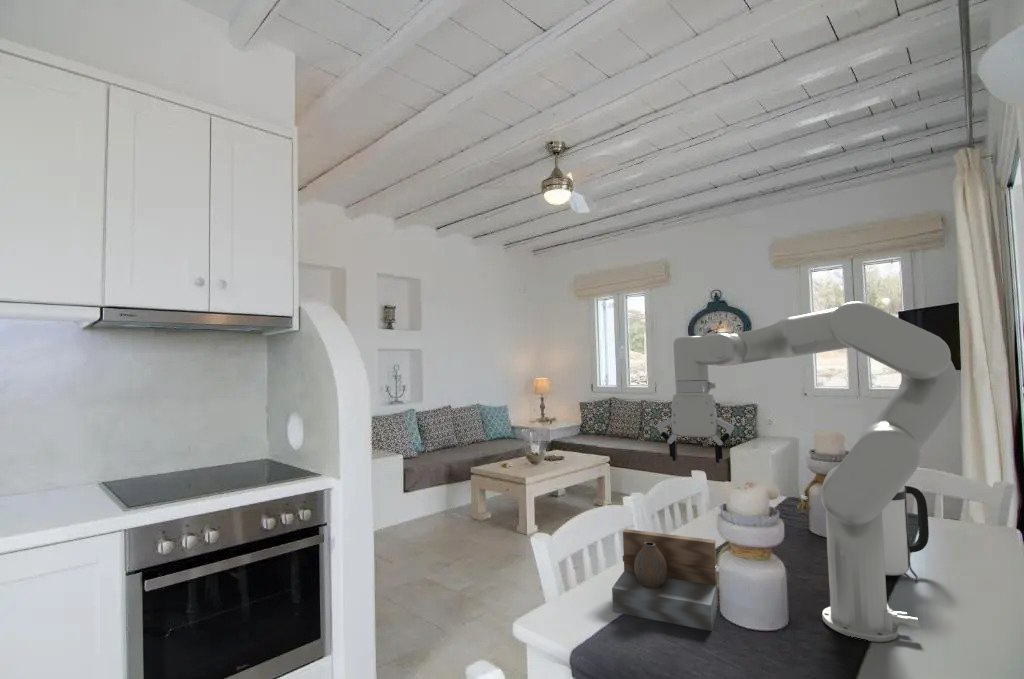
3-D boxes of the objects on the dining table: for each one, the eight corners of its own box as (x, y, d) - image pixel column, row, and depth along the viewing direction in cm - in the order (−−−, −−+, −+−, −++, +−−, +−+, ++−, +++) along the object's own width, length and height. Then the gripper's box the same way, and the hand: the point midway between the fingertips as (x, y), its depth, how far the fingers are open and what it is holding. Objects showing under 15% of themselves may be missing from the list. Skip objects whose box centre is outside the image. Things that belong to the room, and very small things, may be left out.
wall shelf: (718, 605, 113) (715, 540, 113) (712, 631, 102) (708, 558, 103) (627, 589, 122) (625, 529, 122) (612, 611, 111) (610, 545, 112)
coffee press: (915, 593, 116) (907, 458, 118) (835, 573, 128) (828, 451, 130) (932, 571, 128) (924, 449, 129) (856, 554, 140) (850, 443, 141)
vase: (669, 592, 108) (667, 549, 109) (635, 590, 110) (634, 548, 110) (666, 578, 115) (664, 538, 116) (634, 577, 116) (632, 537, 117)
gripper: (732, 386, 122) (736, 459, 121) (657, 387, 130) (661, 456, 129) (730, 388, 116) (735, 465, 115) (652, 389, 123) (655, 462, 122)
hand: (696, 460), depth 122 cm, fingers open, 9 cm apart
